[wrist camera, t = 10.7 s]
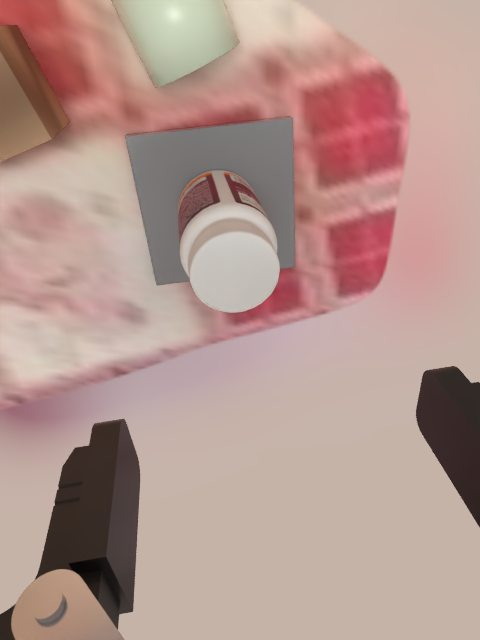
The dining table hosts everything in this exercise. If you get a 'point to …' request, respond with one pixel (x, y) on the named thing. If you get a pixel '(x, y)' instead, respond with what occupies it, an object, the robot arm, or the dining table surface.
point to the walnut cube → (24, 98)
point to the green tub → (177, 34)
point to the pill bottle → (226, 242)
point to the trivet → (206, 155)
